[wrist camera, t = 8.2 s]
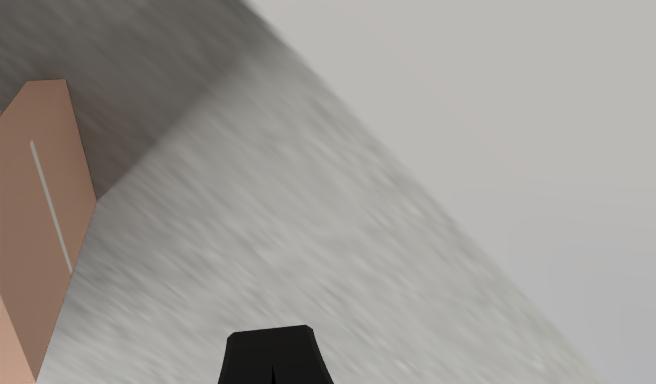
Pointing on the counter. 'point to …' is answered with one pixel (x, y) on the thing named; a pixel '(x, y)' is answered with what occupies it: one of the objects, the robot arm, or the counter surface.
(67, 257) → the tile
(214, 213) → the counter surface
